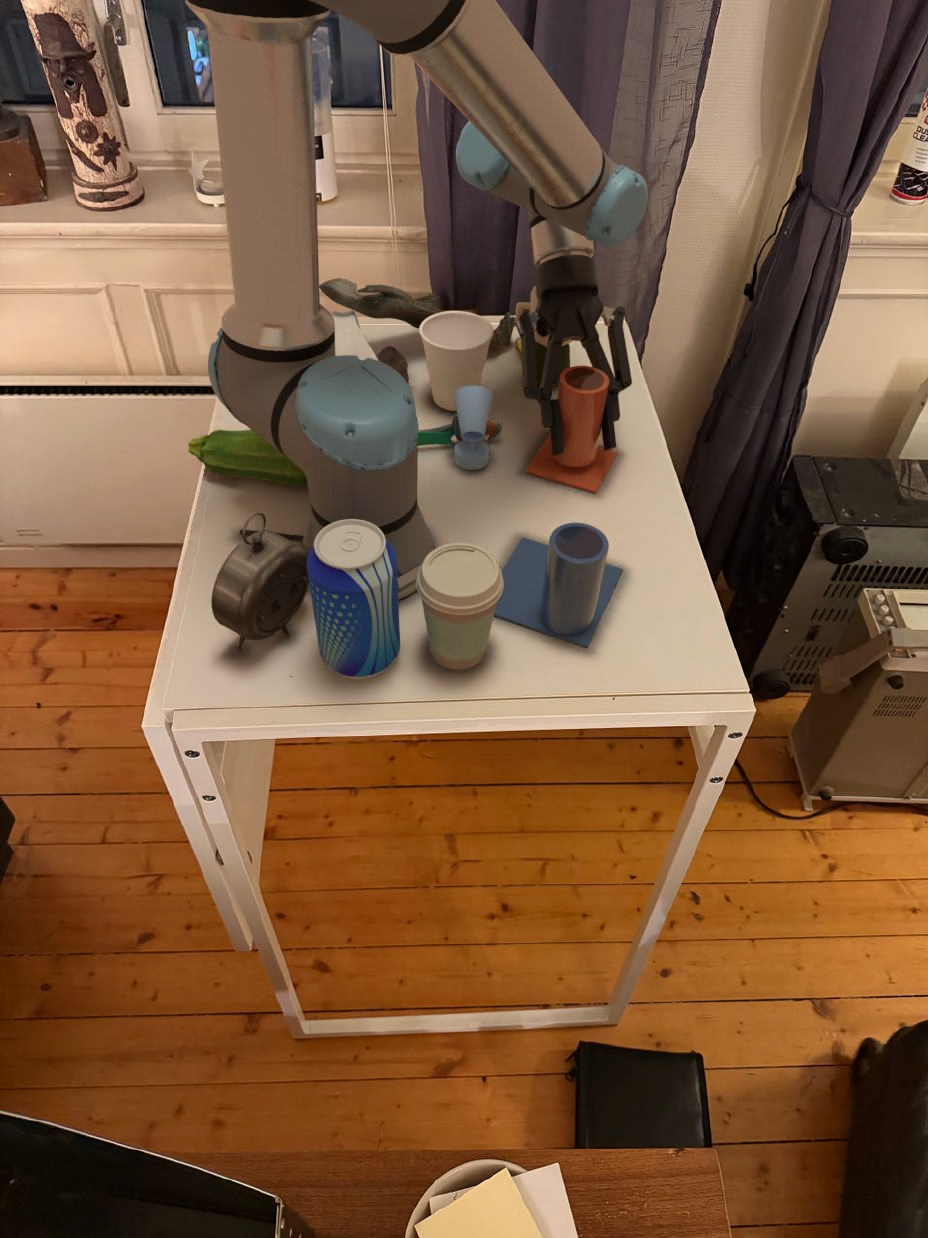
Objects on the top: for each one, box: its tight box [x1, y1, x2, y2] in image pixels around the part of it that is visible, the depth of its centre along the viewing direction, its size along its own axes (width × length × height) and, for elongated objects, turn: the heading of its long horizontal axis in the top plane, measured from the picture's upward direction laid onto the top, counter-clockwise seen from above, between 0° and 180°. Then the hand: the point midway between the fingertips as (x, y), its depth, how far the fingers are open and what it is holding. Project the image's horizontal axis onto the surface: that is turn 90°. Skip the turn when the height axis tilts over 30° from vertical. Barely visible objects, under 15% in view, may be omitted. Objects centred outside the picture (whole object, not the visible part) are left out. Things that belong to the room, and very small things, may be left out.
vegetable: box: [187, 429, 308, 488], centre depth 108 cm, size 7×7×20 cm
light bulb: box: [514, 336, 521, 352], centre depth 131 cm, size 3×6×4 cm
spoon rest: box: [331, 310, 379, 361], centre depth 123 cm, size 24×12×7 cm, turn 6°
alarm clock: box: [210, 510, 310, 653], centre depth 87 cm, size 11×5×16 cm, turn 148°
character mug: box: [514, 285, 575, 386], centre depth 123 cm, size 11×7×13 cm, turn 83°
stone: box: [376, 345, 410, 385], centre depth 126 cm, size 11×2×5 cm
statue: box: [319, 277, 516, 347], centre depth 127 cm, size 10×6×30 cm
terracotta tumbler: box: [551, 365, 609, 467], centre depth 109 cm, size 6×6×11 cm
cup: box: [418, 310, 495, 412], centre depth 119 cm, size 10×10×11 cm
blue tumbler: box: [539, 522, 610, 636], centre depth 91 cm, size 6×6×11 cm
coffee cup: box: [416, 542, 504, 671], centre depth 88 cm, size 8×8×12 cm
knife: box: [418, 413, 504, 447], centre depth 114 cm, size 20×2×5 cm, turn 105°
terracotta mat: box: [525, 433, 618, 495], centre depth 114 cm, size 10×9×1 cm
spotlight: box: [453, 385, 494, 471], centre depth 111 cm, size 5×10×7 cm
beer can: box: [307, 519, 401, 680], centre depth 86 cm, size 8×8×16 cm
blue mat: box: [494, 536, 624, 649], centre depth 98 cm, size 13×13×1 cm
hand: (584, 450), depth 108 cm, fingers closed on terracotta tumbler, 6 cm apart
